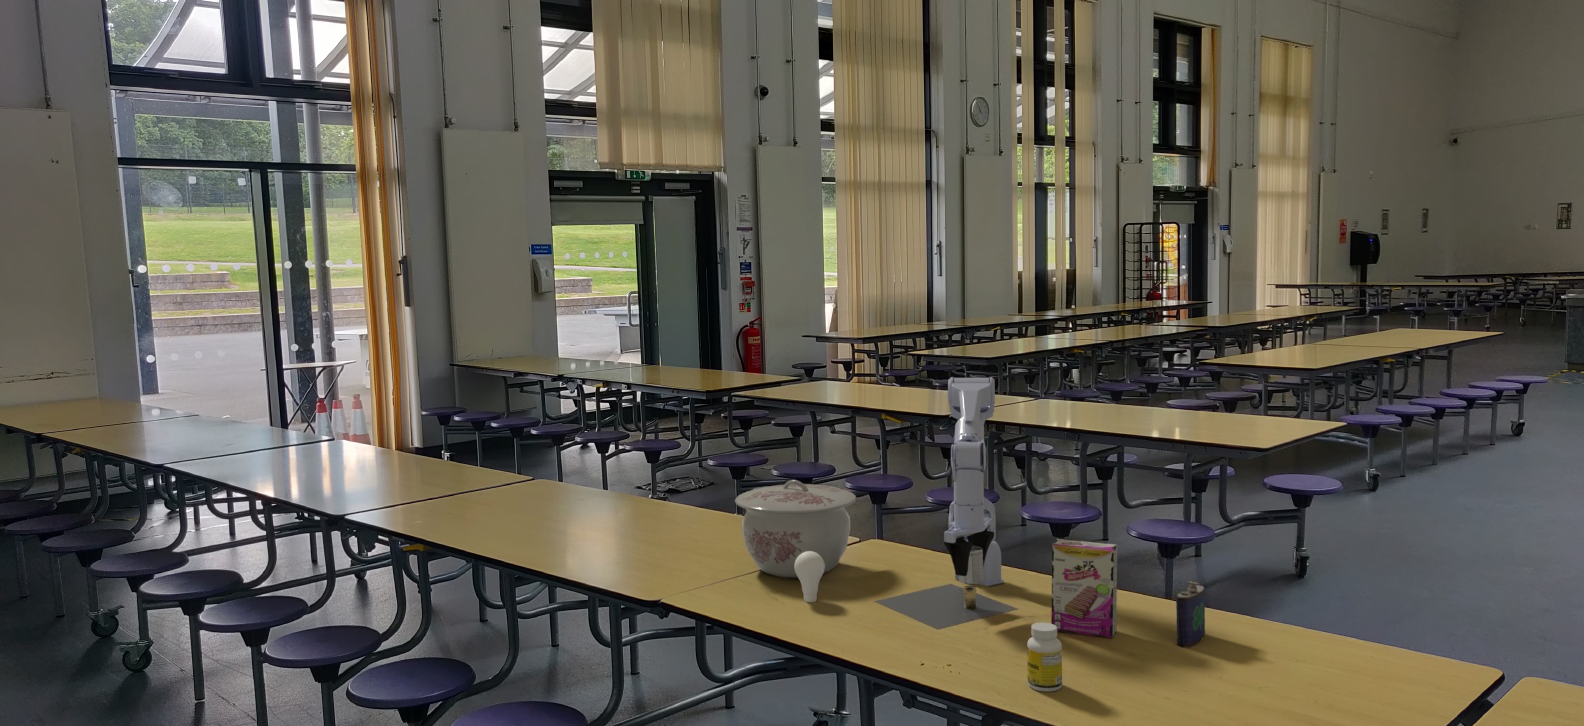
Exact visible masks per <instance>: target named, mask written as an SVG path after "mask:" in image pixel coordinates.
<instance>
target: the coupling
mask: <svg viewBox="0 0 1584 726" xmlns="http://www.w3.org/2000/svg"><path fill="white" fill-rule="evenodd" d="M954 578H955V581H957V582H959V583H962V582H964V583H963V584H967V583H975V582H980V581H983V548H982V547H980V546H975V545H973V546H972V548H971V551H970V555H969V561H968V572H967V576H960V575H956V573H955V572H954Z"/></svg>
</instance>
